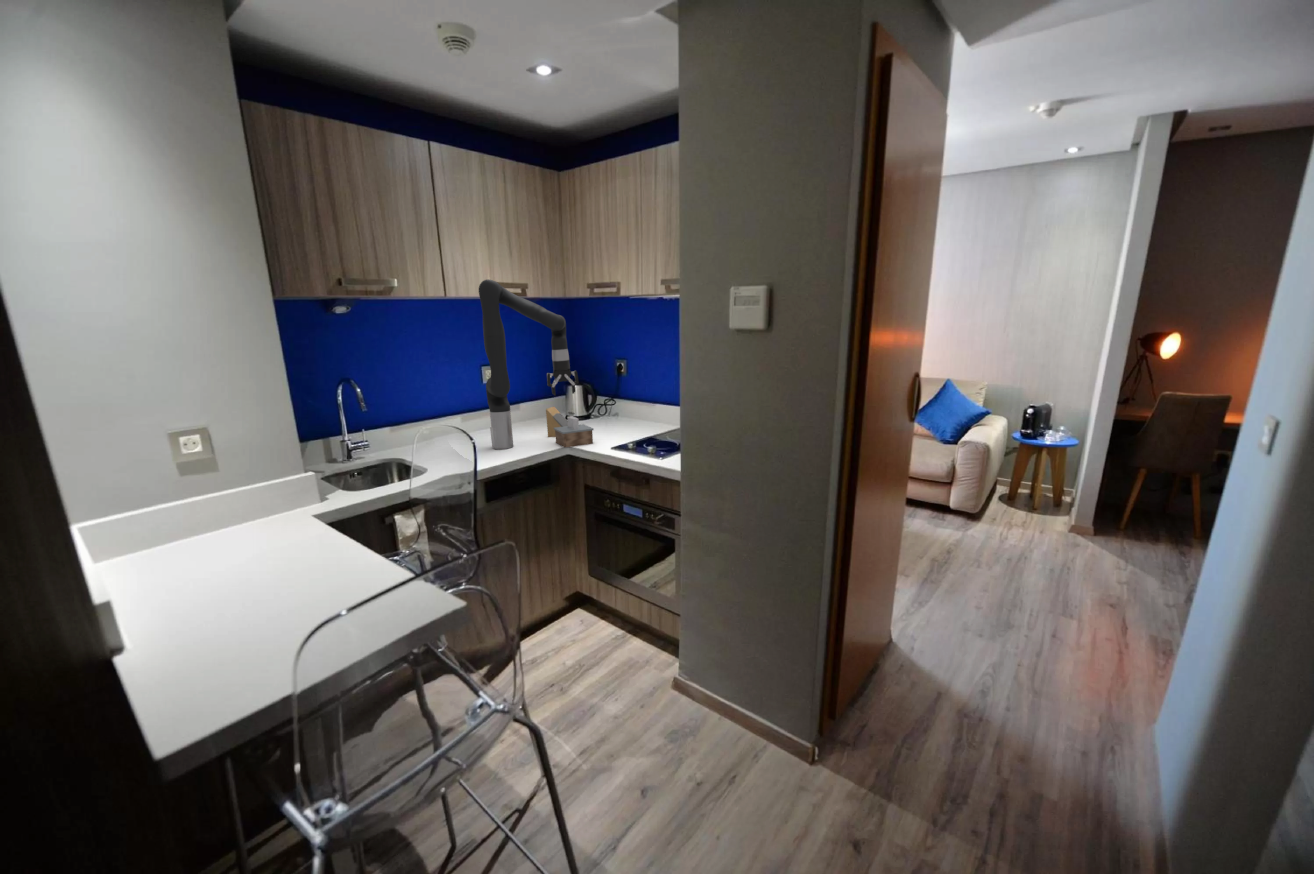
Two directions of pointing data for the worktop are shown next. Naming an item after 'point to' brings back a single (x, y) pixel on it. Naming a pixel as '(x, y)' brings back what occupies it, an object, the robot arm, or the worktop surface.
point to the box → (574, 438)
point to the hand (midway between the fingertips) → (564, 394)
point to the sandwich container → (554, 420)
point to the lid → (573, 426)
